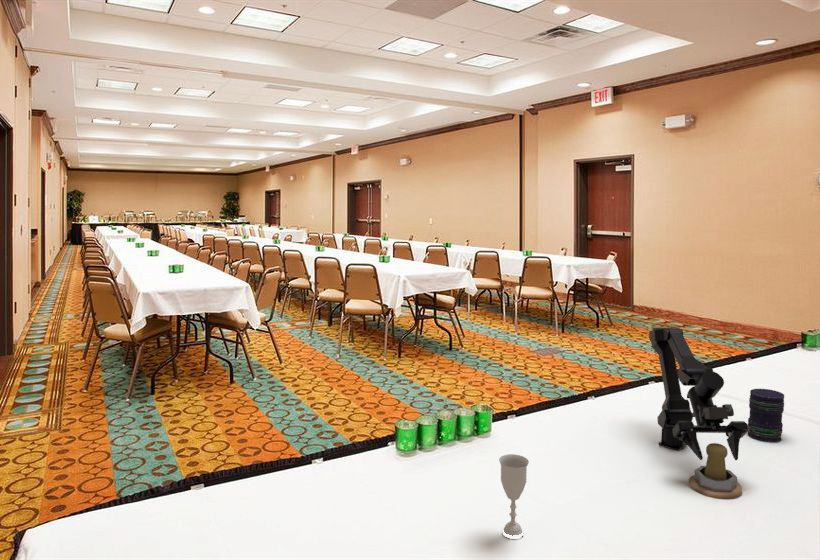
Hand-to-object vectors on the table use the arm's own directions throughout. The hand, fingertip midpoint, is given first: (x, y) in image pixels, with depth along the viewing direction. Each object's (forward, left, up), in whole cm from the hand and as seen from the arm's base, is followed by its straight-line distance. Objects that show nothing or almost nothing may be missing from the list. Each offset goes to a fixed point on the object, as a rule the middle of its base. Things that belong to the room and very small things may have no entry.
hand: (719, 459), depth 161 cm
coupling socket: (-1, +1, -9) cm, 9 cm away
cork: (-1, +1, -8) cm, 8 cm away
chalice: (-23, -58, -9) cm, 63 cm away
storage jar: (-5, +50, -9) cm, 51 cm away
